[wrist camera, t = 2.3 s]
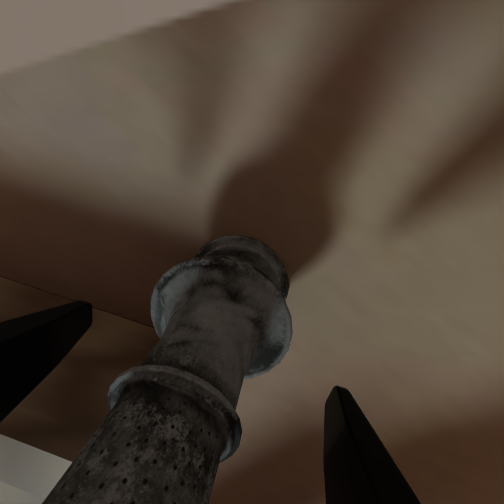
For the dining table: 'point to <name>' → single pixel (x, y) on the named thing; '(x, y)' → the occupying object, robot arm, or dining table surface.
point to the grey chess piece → (187, 381)
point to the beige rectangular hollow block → (62, 396)
